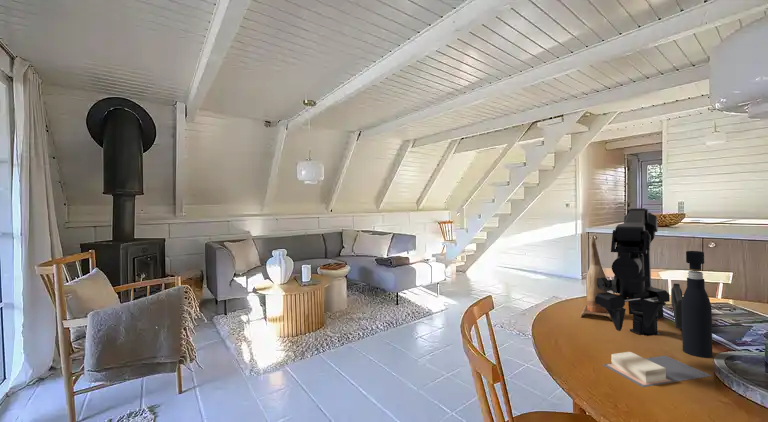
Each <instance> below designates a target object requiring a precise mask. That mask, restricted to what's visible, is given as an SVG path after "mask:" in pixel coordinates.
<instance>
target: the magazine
mask: <svg viewBox="0 0 768 422" xmlns="http://www.w3.org/2000/svg"><path fill="white" fill-rule="evenodd" d="M670 290H671V291H670V292H671V293H670V294H671V295H670V296H671V297H670V298H671V299H670V300H671V301H670V302H671V303H670V304H671V308H672V307H673V310H672V312H673V311H674V317H673V319H674V318H675V321H674V325H675V327H676V329H679V330H682V299H683V295H684V294H683V291H682V288H681V286H680V284H679V283H673V284H672V287H671V289H670Z"/></svg>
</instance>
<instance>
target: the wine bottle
mask: <svg viewBox="0 0 768 422" xmlns="http://www.w3.org/2000/svg"><path fill="white" fill-rule="evenodd" d="M685 256H686V257H685V259H686V260H685V262H686V263H687V264H688V265H689V269H688V270H689V271H688V272H687V274H688V275H687V278H686V289H685V290H684V293H683V294H682V295H683V299H682V329H681V334H682V335H681V337H682V342H681V343H682V352H683V353H685V354H687V355H689V356H693V357H695V358H701V359H708V358H712V357H713V318H712V317H713V316H712V314H713V313H712V312H713V311H712V310H713V309H712V305H711V301H710V298H709V295H708V293H707V290H706V289H705V287H706V286H705V285H706V284H705V279H704V273H703V272H702V265H704V264H705V252H704V251H700V250H699V251H698V250H687V251H686V252H685Z"/></svg>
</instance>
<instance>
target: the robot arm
mask: <svg viewBox="0 0 768 422" xmlns="http://www.w3.org/2000/svg"><path fill="white" fill-rule="evenodd" d="M657 218H658V217H657V216H656V214H655V215H654V214H653V213H651V212H650V211H649V209H648V208H645V207H644V208H643V207H642V208H641V207H640V208H639V207H638V208H633V207H632V208H629V209H627V214H625V215H624V217H623V223H619V224H617V226H616V227H615V228H614V229H613V230H612V234H611V244H610V252H611V253H617V257H616V258H615V260H614V261H613V262H612V265H611V271H612V273H613V274H614V275H613V279H608V278H607V277H606V276H605V277H603V278H597V287H598V289H603V292H605V293H598V294H597V295H595V303H596V304H599V305H600V306H601V307H604V308H605V309H606V310H607V311H608V313H609V314H610V316H611V319H612V323H613V325H614V327H615V330H616V331H618V332H621V331H622V328H623V326H624V325H623V324H624V319H625V316H626V315H625V314H626V308H624V307H625V305H626V303H627V304H628V314H629V315H632V316H633V317H632V328H629V332H631V333H635V334H638V335H639V336H645V337H652V336H660V335H663V333H662V332H659V331H658V320H661V319H664V306H666V305H667V303H668V302H671V301H670V300H671V299H670V298H671V297H670V296H671V295H670V293H669V292H668V291H667V290H666V289H660V288H657V287H655V286H654V287H653V286H652V278H651V277H652V273H651V271H652V269H651V249H650V248H651V243H652V241H654V239H655V237H656V233H658V229H659V226H658V223H659V222H658V219H657ZM612 292H613V293H612ZM611 319H610V320H611Z"/></svg>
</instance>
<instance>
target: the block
mask: <svg viewBox="0 0 768 422" xmlns="http://www.w3.org/2000/svg"><path fill="white" fill-rule="evenodd" d="M610 356H611V359H610V360H611V363H612V365H613V366H614V367H616V368H618V369H620V370H622V371H624V372H626V373H627V374H629V375H631V376H633V377H635V378H637V379H639V380H640V381H642V382H644V383H651V382H657V381H663V380H666V368H664V367H662V366H660V365H658V364H656V363H654V362H651V361H649V360H647V359H645V358H644V357H643V356H640V355H639V354H636V353H634V352H632V351H624V352H617V353H612V354H611V355H610Z"/></svg>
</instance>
